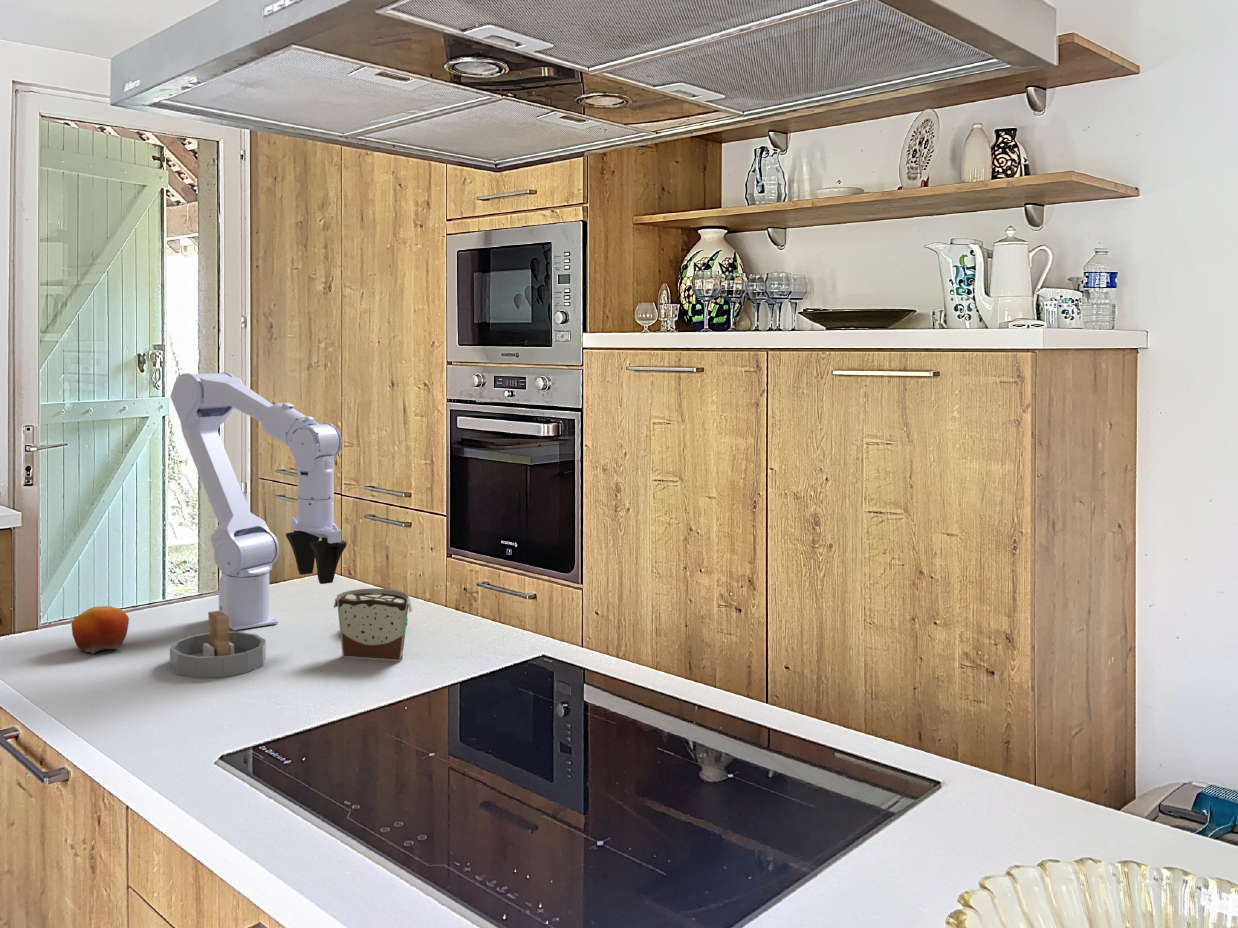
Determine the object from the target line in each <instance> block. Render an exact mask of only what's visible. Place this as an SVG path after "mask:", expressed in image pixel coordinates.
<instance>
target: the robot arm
mask: <svg viewBox="0 0 1238 928" xmlns="http://www.w3.org/2000/svg"><path fill="white" fill-rule="evenodd" d="M170 400H171V402H172V404H173V407H174V409H175V411H176V414H177V416H178V418H179V422H180V427H181V432H182V435H183V436H182V437H184V440H185V443H186V445H187V448H188V450H189V453H190V455H191V458H192V460H193V462H194V463H193V464H194V465H195V468H196V470H197V473H198V475H199V477H200V480H201V483H202V485H203V488H204V490H205V493H206V495H207V498H208V501H209V503H210V505H211V507H212V510H213V513H214V516H215V519H216V520H217V523H218V525H217V527H216V529H215V530H214V531H213V533H212V534H211V537H210V541H211V543H212V546H213V556H214V557H213V558H214V562H215V565H216V567H217V568H218V569H219V570H220V571H221V576H220V578H219V581H218V611H220V612H222V613H224V614H225V615H227V616H229V629H231V630H232V631H238V630H245V629H249V628H250V629H251V628H257V627H263V626H269V625H276V624H279V620H278V619H276V618H275V617H273V616H271V615H270V571H272V570H273V564H274V563H275V562H276V561H277V560H278V557H279V554H280V545H279V541H278V539H277V537H276V536H275V534H274V533H273V532H272V531H270V528H269V527H268V525H267V521H266V520H264V519H262V518H260V516H257V515H255V514H254V513H252V512H251V510H250V508H249V504H248V503H247V501H246V498H245V495H244V492H243V491H242V488H241V485H240V482H239V481H238V479H237V476H236V474H235V470H234V469H233V466H232V463H231V461H230V458H229V455H228V454H227V451H226V448H225V446H224V444H223V442H222V441H223V440H222V439H221V436H220V434H219V428H220V427H221V425H222V424H223V423H225V422H226V420H227V418H228V417H229V415H230V414H231V413H232V410H233V409H235V410H237V411H239V412H242V413H243V414H245V415H247V416H249V417H251V418H253V419H254V420H257V421H259V422H261V426H262V429H263V432H265V433H266V434H267V435H268V436H270V437H272V438H274V439H276V440H277V441H278V442H281V443H282V444H283V445H286V446H288V447H289V451H290V453H291V455H292V456H293V459H294V467H295V468H296V470H297V516H293V517H291V525H290V530H292V532H286V534H285V537H286V539H287V541H288V542H289V544H290V546H291V549H292V552H293V555H294V558H295V563H296V568H297V571H298V574H299V575H301V576H303V575H304V576H305V575H310V574H313V572H314V567H315V565H316V572H317V578H318V579H317V580H318V583H319V584H320V585H326V584H333V582H334V579H335V575H336V571H337V567H338V564H339V562H340V558H341V556H342V554H343V552H344V551H345V549H346V548H347V543H348V542H347V541H346V540H343V539H342V530H341V529H339V528H338V526H337V525H336V523H335V522H334V521H335V514H334V513H335V509H334V508H335V503H334V502H335V499H334V498H335V457H336V456H337V455H338V454H339V453H340V451H341V449H342V444H343V443H342V442H343V441H342V435H341V433H340V431H339V429H338V428H337V427H335V426H334V425H333V423H331V422H323V423H318V422H316V421H315V418H314V417H313V416H311V415H309V416H306V415H305V414H303V413H301V412H300V411H298V410H296V409H295V408H294V407H295V405H294V404H292V403H291V402H278V403H275V404H273V403H271V402H270V401H269V400H267V399H266V398H264V397H262V396H261V395H260V394H258V393H257V392H255V391H254V390H252V389H251V388H250V387H248V386H247V385H246V384H244V383H243V381H242V379H241V378H240V377H237V376H234V374H232V373H230V372H225V371H223V372H219V373H216V372H215V373H190V372H189V373H188V372H185V373H181V375H179V376H177V378H176V379H175V381H174V383H173V387H172V390H171V393H170ZM320 539H321V540H320ZM315 563H316V564H315Z"/></svg>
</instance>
